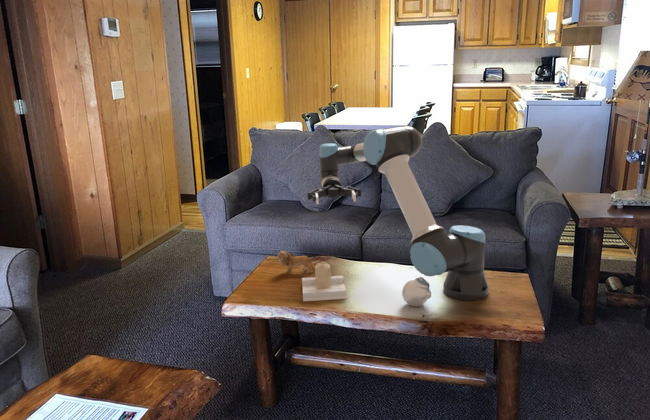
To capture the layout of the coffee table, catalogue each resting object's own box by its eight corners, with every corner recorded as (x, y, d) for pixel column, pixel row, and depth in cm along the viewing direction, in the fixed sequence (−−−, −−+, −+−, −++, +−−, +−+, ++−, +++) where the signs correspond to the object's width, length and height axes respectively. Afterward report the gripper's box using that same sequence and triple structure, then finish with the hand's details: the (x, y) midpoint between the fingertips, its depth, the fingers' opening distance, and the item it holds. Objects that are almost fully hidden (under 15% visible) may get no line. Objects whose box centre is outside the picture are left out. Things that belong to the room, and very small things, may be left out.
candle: (329, 292, 188) (328, 266, 185) (314, 291, 189) (313, 265, 186) (332, 286, 193) (331, 260, 190) (317, 285, 194) (316, 259, 191)
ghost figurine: (423, 314, 172) (423, 285, 169) (397, 306, 177) (397, 279, 175) (435, 303, 179) (436, 275, 176) (410, 296, 184) (410, 269, 182)
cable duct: (343, 282, 198) (342, 275, 197) (346, 298, 185) (346, 290, 184) (302, 285, 197) (302, 277, 196) (303, 301, 184) (302, 293, 184)
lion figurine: (278, 275, 207) (277, 253, 205) (279, 270, 212) (277, 249, 210) (316, 273, 208) (315, 251, 205) (316, 268, 213) (315, 246, 210)
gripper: (363, 193, 216) (370, 207, 196) (301, 197, 215) (302, 211, 195) (362, 175, 214) (370, 187, 194) (300, 179, 213) (301, 191, 193)
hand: (336, 199), depth 194 cm, fingers open, 13 cm apart
